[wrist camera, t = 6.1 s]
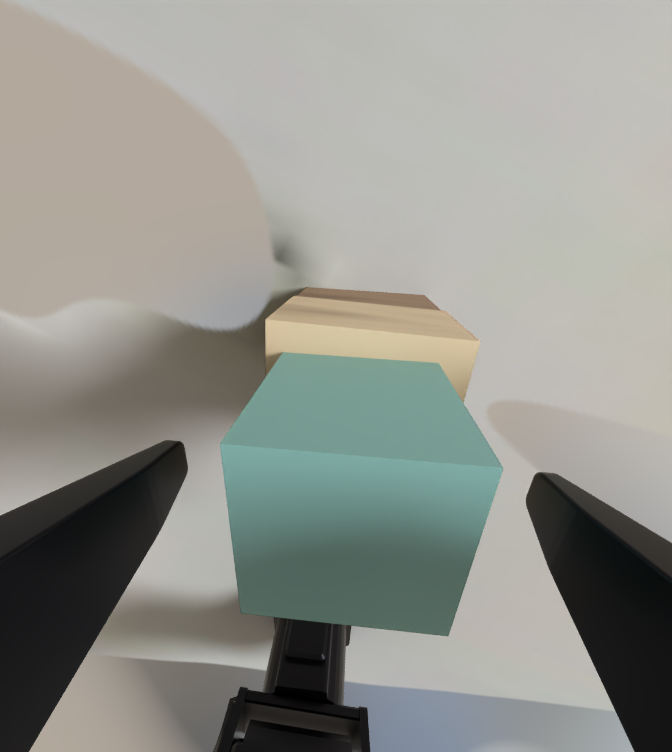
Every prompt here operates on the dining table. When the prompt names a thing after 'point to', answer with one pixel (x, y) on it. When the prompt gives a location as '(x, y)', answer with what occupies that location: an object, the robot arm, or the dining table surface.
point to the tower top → (372, 335)
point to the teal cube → (356, 493)
